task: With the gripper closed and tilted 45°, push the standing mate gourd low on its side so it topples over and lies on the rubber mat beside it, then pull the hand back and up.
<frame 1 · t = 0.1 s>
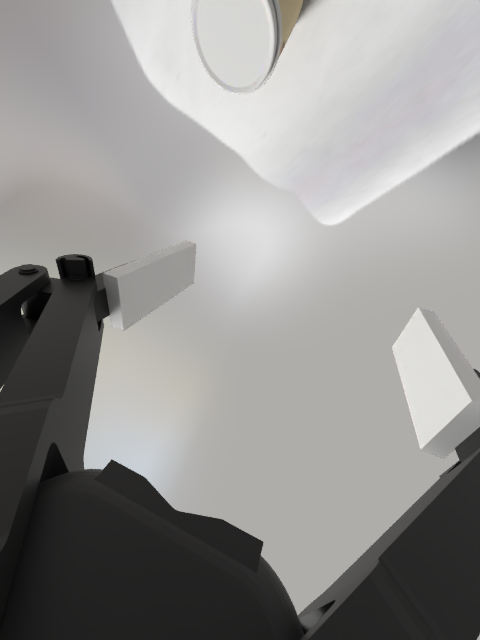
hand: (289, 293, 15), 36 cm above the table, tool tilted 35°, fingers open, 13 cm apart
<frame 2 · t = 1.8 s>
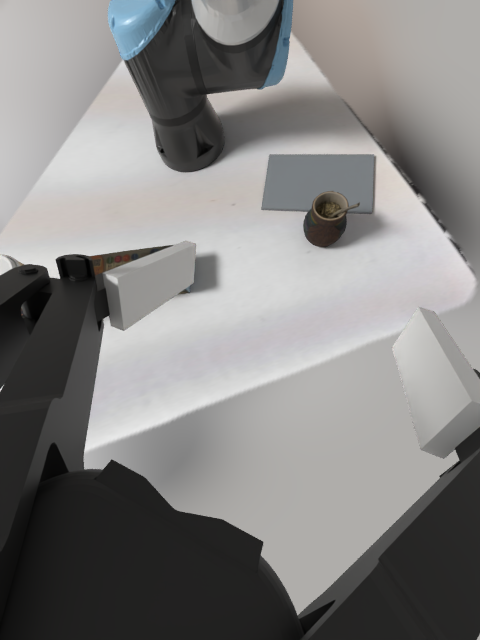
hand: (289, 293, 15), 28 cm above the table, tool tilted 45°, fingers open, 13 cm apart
coffee cup: (54, 302, 50), on the table
mate gourd: (321, 234, 46), on the table
beverage carton: (146, 282, 49), on the table
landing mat: (317, 183, 49), on the table
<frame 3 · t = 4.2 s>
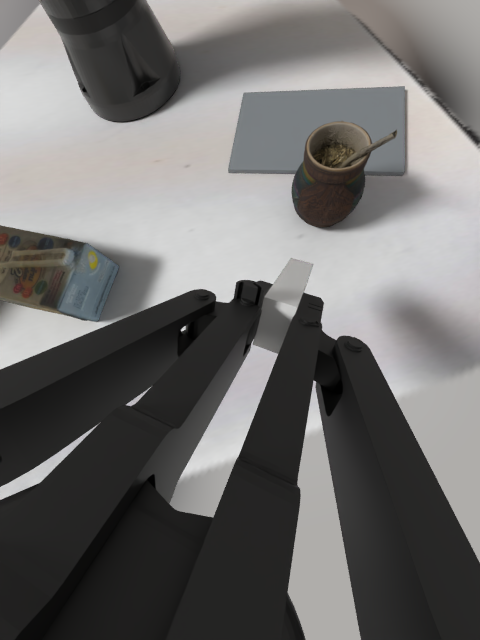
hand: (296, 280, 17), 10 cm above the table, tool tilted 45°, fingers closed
mate gourd: (321, 209, 29), on the table
beverage carton: (50, 281, 32), on the table
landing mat: (315, 132, 31), on the table
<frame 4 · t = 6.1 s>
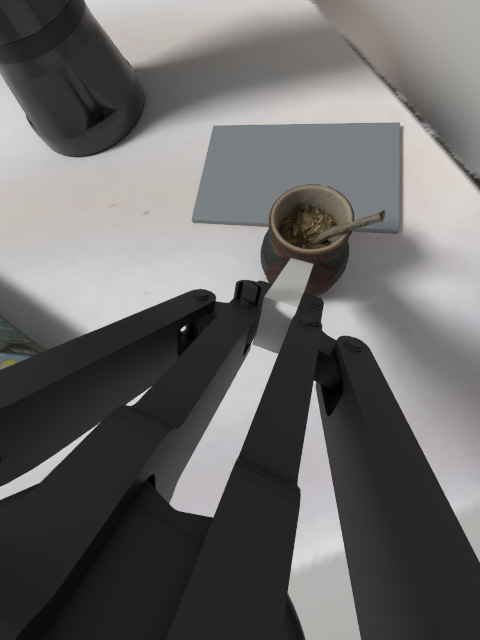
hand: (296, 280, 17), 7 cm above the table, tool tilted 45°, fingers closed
mate gourd: (300, 272, 24), on the table, touching gripper
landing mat: (294, 175, 27), on the table
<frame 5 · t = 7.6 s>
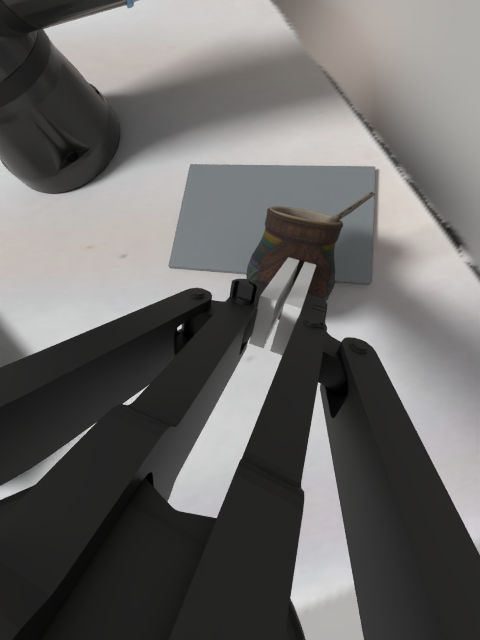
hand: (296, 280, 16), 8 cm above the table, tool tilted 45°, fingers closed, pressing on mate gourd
mate gourd: (282, 310, 22), point 2 cm above the table, touching gripper
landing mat: (270, 219, 26), on the table
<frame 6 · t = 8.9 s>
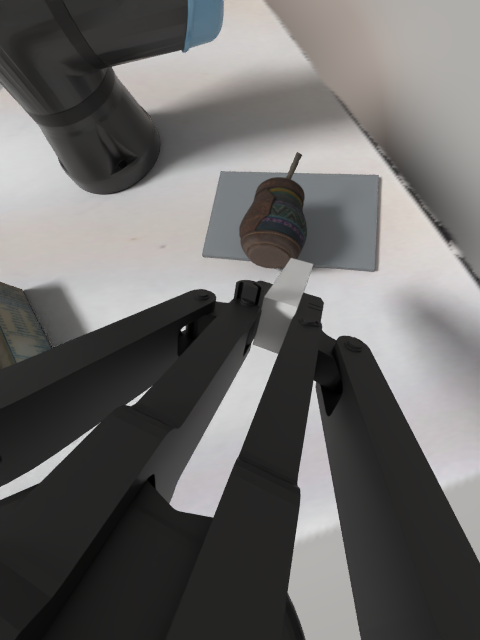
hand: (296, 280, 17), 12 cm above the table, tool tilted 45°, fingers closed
mate gourd: (268, 260, 26), point 4 cm above the table, touching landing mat
beverage carton: (27, 359, 32), on the table
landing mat: (289, 217, 31), on the table
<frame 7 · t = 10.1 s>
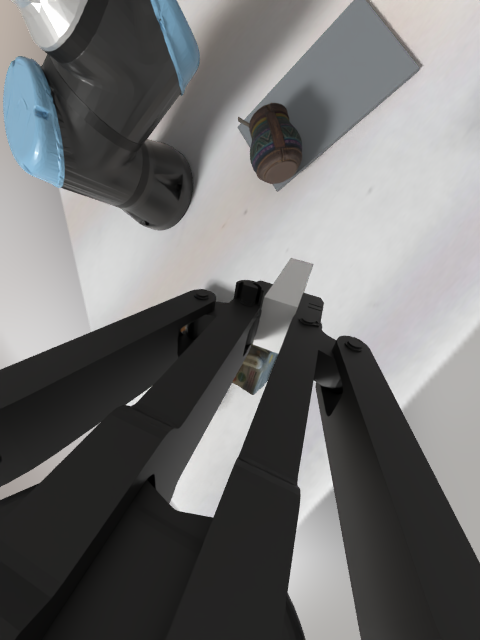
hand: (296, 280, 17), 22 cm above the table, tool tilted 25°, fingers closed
mate gourd: (280, 175, 34), point 4 cm above the table, touching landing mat
beverage carton: (230, 341, 45), on the table
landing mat: (314, 104, 35), on the table
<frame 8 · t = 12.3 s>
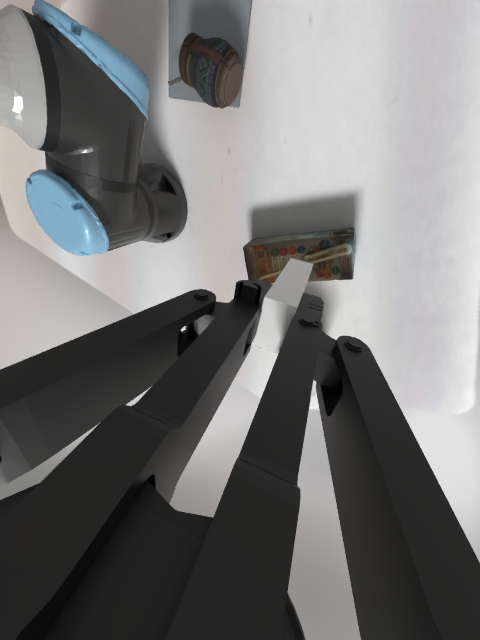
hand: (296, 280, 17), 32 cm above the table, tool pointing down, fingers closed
mate gourd: (235, 86, 35), point 4 cm above the table, touching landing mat
beverage carton: (300, 253, 48), on the table
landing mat: (209, 10, 36), on the table
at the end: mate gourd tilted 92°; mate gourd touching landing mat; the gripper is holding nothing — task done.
